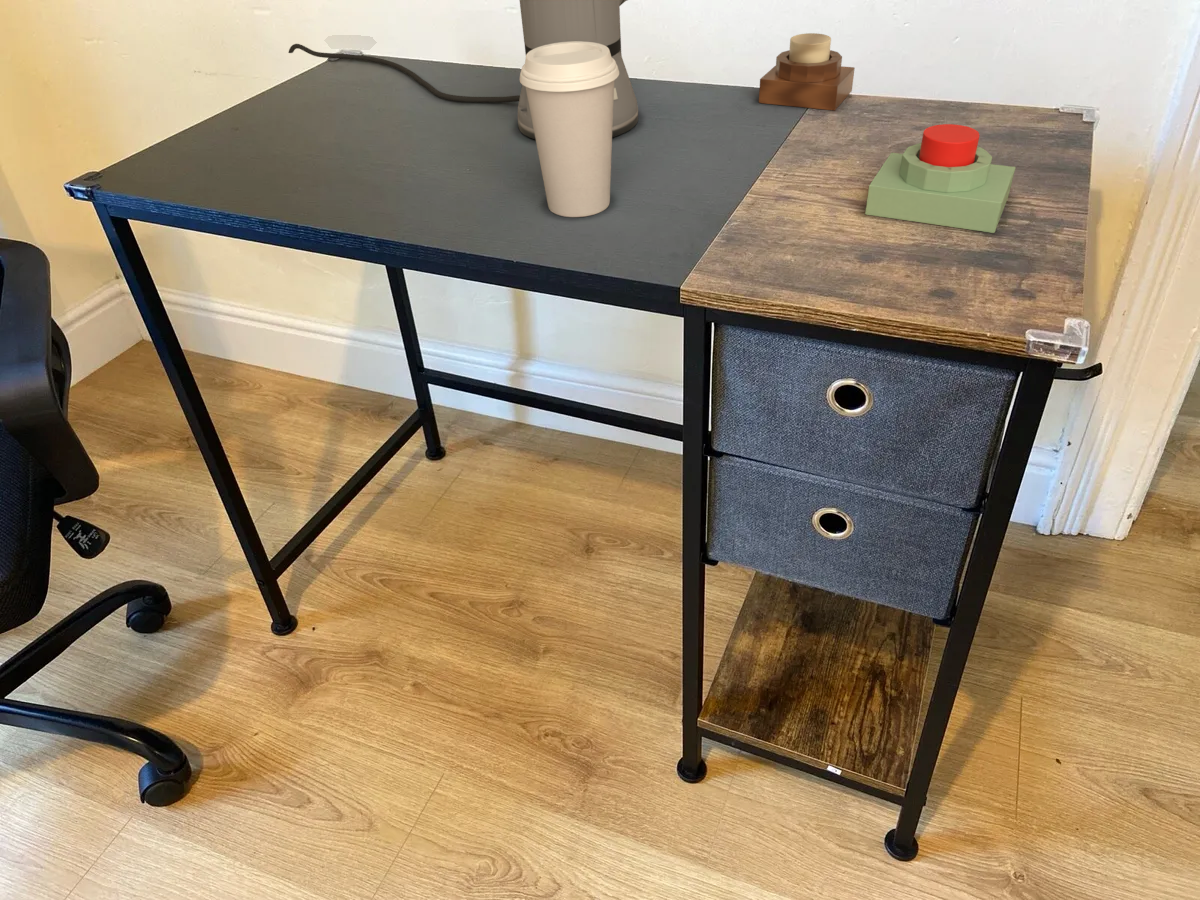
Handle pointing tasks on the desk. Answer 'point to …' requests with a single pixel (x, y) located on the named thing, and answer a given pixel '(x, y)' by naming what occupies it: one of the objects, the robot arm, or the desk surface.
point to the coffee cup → (572, 123)
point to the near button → (949, 145)
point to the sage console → (941, 191)
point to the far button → (809, 48)
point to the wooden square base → (807, 83)
